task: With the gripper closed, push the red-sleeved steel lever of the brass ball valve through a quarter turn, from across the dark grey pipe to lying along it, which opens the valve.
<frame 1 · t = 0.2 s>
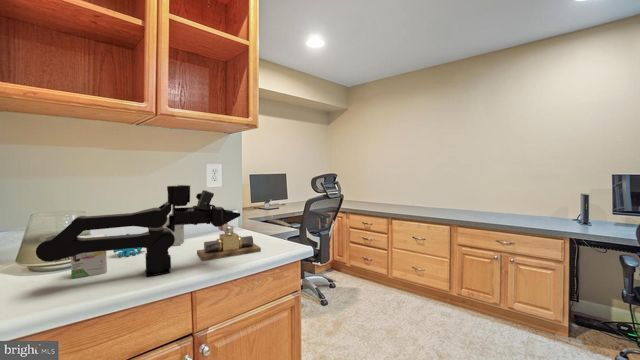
hand: (236, 213, 104), 17 cm above the worktop, tool horizontal, fingers open, 9 cm apart
supplement box: (173, 244, 126), on the worktop
valve pipe: (229, 242, 112), point 4 cm above the worktop
mount board: (229, 252, 112), on the worktop
valve lever: (225, 227, 116), point 9 cm above the worktop, hinge at 0.0°
gear: (129, 255, 111), on the worktop
white pink medicine box: (89, 274, 90), on the worktop
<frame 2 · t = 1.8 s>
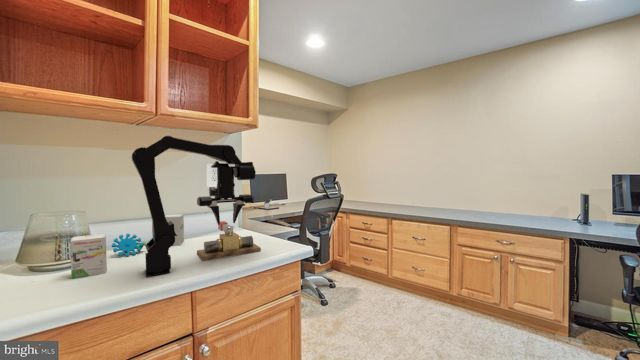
hand: (226, 223, 103), 13 cm above the worktop, tool pointing down, fingers open, 5 cm apart
nothing on the worktop moved.
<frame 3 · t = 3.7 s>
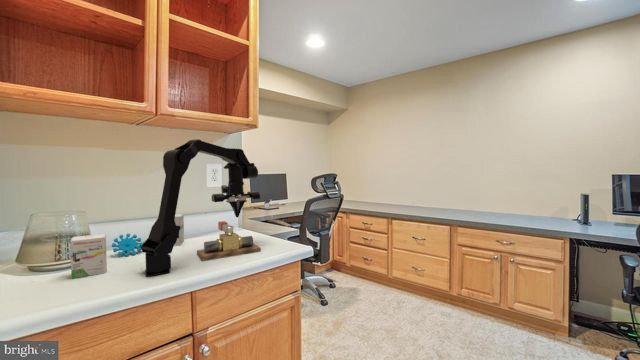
hand: (237, 217, 119), 13 cm above the worktop, tool pointing down, fingers closed
nothing on the worktop moved.
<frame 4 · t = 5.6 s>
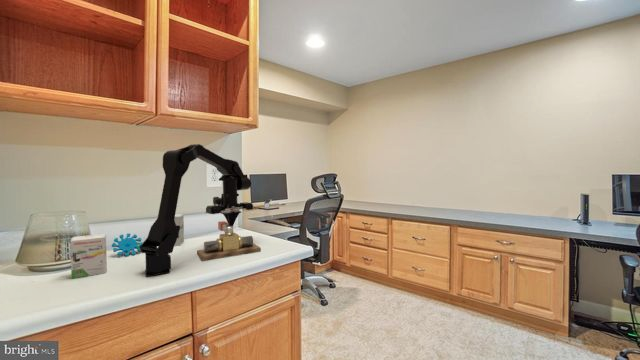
hand: (230, 228, 121), 8 cm above the worktop, tool pointing down, fingers closed
valve lever: (225, 227, 116), point 9 cm above the worktop, hinge at 0.2°, touching gripper
everything else where it was.
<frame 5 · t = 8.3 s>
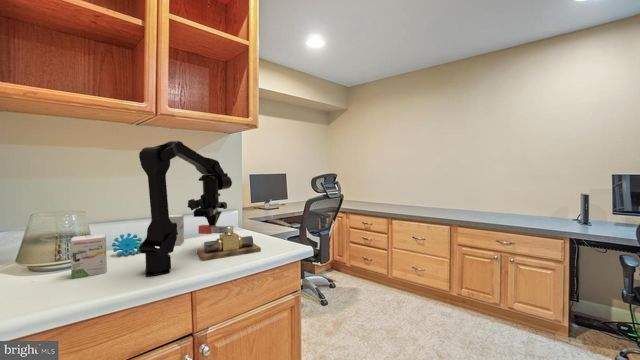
hand: (212, 229, 116), 8 cm above the worktop, tool pointing down, fingers closed
valve lever: (216, 229, 113), point 9 cm above the worktop, hinge at 49.7°, touching gripper
everything else where it was.
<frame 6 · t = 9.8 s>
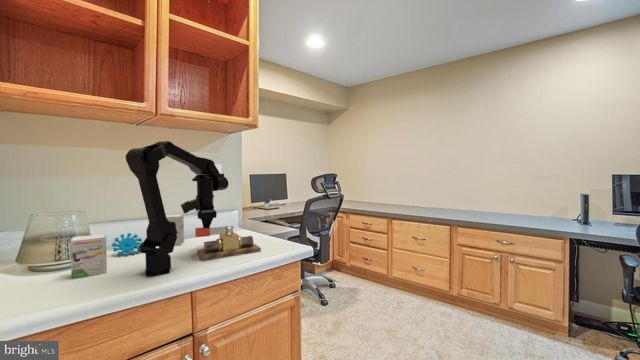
hand: (205, 232, 111), 8 cm above the worktop, tool pointing down, fingers closed
valve lever: (214, 231, 110), point 9 cm above the worktop, hinge at 79.0°, touching gripper
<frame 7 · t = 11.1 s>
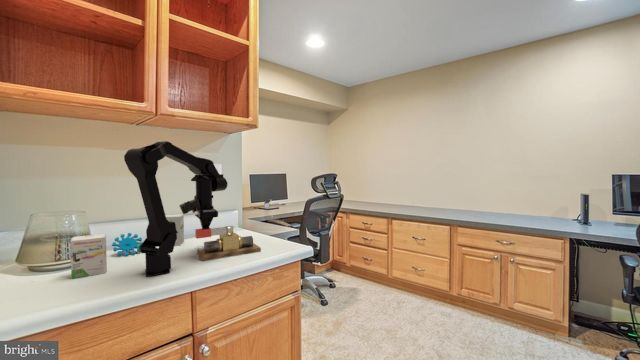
hand: (204, 233, 110), 8 cm above the worktop, tool pointing down, fingers closed
valve lever: (215, 231, 109), point 9 cm above the worktop, hinge at 91.3°
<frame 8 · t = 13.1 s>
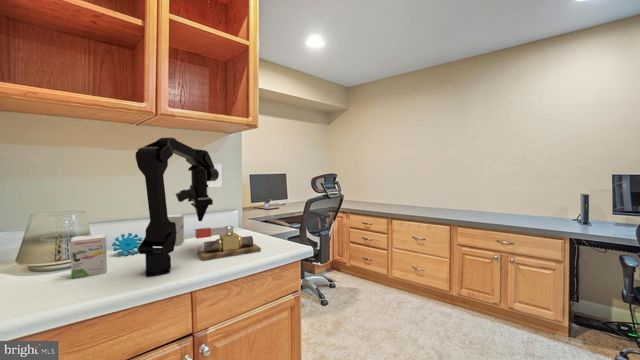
hand: (200, 221, 115), 12 cm above the worktop, tool pointing down, fingers closed
at the end: valve lever at +91° (first picture: +0°) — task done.
